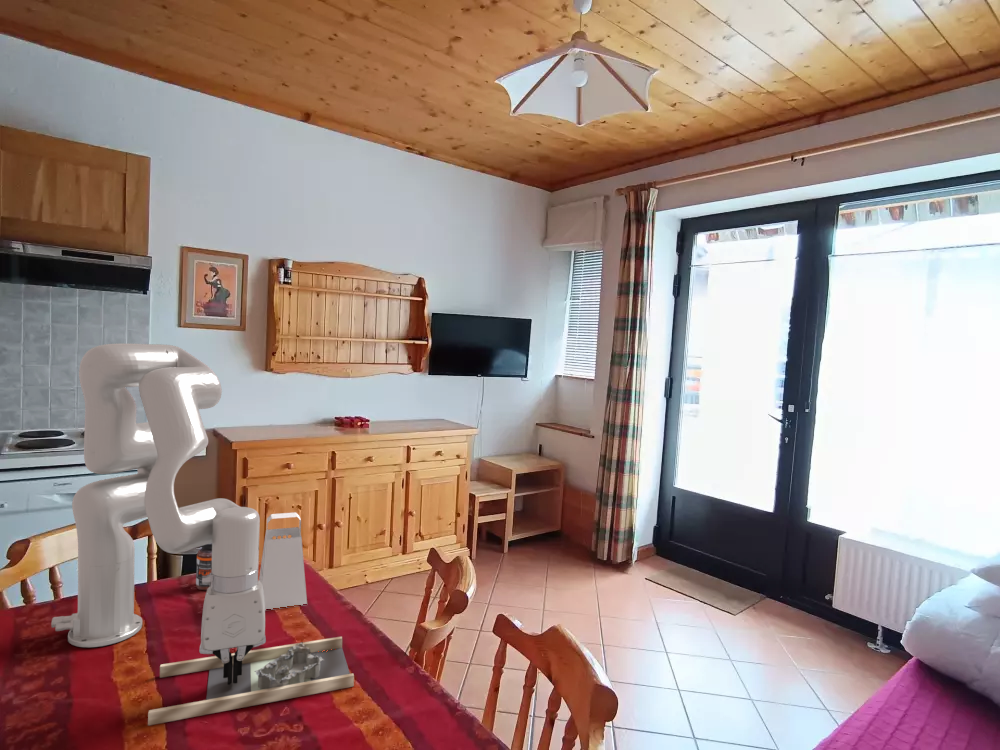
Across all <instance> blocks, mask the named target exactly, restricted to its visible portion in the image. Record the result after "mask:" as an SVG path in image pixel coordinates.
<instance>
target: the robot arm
mask: <svg viewBox="0 0 1000 750" xmlns="http://www.w3.org/2000/svg"><path fill="white" fill-rule="evenodd" d="M78 377H79V383H80V388H81V391H82V395H83V399H84V406H85V407H84V408H85V409H84V410H85V411H84V432H83V434H84V439H83V460H84V464H85V466H86V468H87V470H88V471H89V472H91V473H94V474H98V475H109V474H110V475H111V474H117V473H123V472H128V471H135V470H137V473H135V474H133V473H132V474H128V475H123V476H122V475H121V476H115V477H110V478H105V479H100V480H96V481H93V482H91V483H88V484H85V485H83V486H82V487H80V488H79V489H78V490H77V491H76V493H75V494H74V495H73V497H72V503H71V506H72V507H71V508H72V515H73V519H74V522H75V529H76V535H77V564H78V565H77V612H76V613H71V615H66V616H64V615H61V616H54V617H52V619H51V623H50V624H51V625H50V626H51V628H55V632H60V631H61V632H62V631H65V630H69V631H68V634H67V642H68V643H69V644H71V645H72V646H74V647H78V648H98V647H105V646H110V645H113V644H116V643H119V642H122V641H125V640H127V639H130V638H131V637H132V636H135V635H136V634H137V633H139V631H141V629H142V627H143V618H142V617H141V616H140V615H138V614H136V613H134V612H135V558H136V557H135V550H136V548H135V541H134V539H133V537H131V535H130V534H129V533H128V532H127V531H126V530H125V528H124V527H123V526H124V525H125V524H127V523H131V522H134V521H138V520H142V519H146V518H147V520H148V524H149V528H150V531H151V533H152V536H153V538H154V540H155V541H154V542H156V544H157V546H159V548H160V549H161V550H162V551H164V552H166V553H168V554H180V553H184V552H187V551H190V550H192V549H197V548H199V547H201V546H203V545H206V544H209V543H212V573H210V575H207V576H202V584H209V586H210V587H209V588H208V589H207V590H206V592H205V597H204V601H203V608H202V617H201V631H200V633H201V634H200V645H199V650H198V651H199V652H198V653H200V654H201V655H202V654H203V655H213V656H216V657H218V658H219V659H221V660H222V662H223V663H224V670H223V678H228V685H230V684H231V683H232V657H233V683H234V684H235V683H237V677H238V676H239V675H242V660H243V659H244V656H245V655H246V654H247V653H248V652H249V651H251V650H252V649H253V648H256V647H259V646H261V645H265V644H266V642H267V639H266V610H265V600H264V592H263V587H262V584H261V582H260V581H259V561H260V560H259V556H260V523H261V522H260V514H259V512H258V511H257V510H256V509H254V508H252V507H247V506H240V505H238V503H237V504H236V503H235V502H233V501H232V500H230V499H228V498H221V497H220V498H213V499H209V500H205V501H202V502H201V501H200V502H198V503H194V504H189V505H185V506H180V507H179V506H178V502H177V500H176V496H175V479H176V477H177V474H178V473H179V471H180V469H181V467H183V465H184V464H185V463H186V462H187V461H188V460H190V459H192V458H193V457H195V456H197V455H198V454H200V453H202V452H203V451H204V450H205V449H206V448H207V446H208V444H209V437H208V435H207V432H206V428H205V425H204V422H203V419H202V415H201V412H200V410H206V409H211V408H214V407H215V406H217V404H218V403H219V402H220V400H221V398H222V392H223V391H222V384H221V381H220V379H219V377H218V375H217V374H216V373H215V372H214V370H213V369H212V368H211V367H210V366H208V365H207V364H205V363H204V362H203V361H202V360H200V359H198V358H197V357H195V356H193V355H192V354H190V353H189V352H188V351H186V350H185V349H183V348H181V347H179V346H177V345H171V344H162V343H161V344H157V343H156V344H154V343H153V344H149V343H109V344H108V343H107V344H100V345H97V346H94V347H92V348H90V349H88V350H87V351H85V353H84V354H83V356H82V358H81V360H80V363H79V370H78ZM137 387H138V391H139V396H140V398H141V399H140V400H141V403H142V407H143V410H144V413H145V416H146V419H147V422H138V423H137V404H136V401H135V399H134V398H135V397H133V396H132V394H131V393H130V391H129V390H128V389H127V388H137ZM234 648H236V651H234V653H235V655H234V656H233V655H232V656H231V654H232V652H230V649H234Z"/></svg>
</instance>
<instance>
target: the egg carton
mask: <svg viewBox="0 0 1000 750" xmlns="http://www.w3.org/2000/svg"><path fill="white" fill-rule="evenodd" d="M303 642H304V641H302V642H299V643H300V644H297V643H295V644H296V645H295V646H292V647H291V648H290V649H289V650H288V652H287V653H286V654H283V655H280V657H279V658H277V659H276V660H274V661H271V662H269V663H268V664H267V665H265V666H264V667H263V668H261V669H259V670H256V671H255V672H256V675H258V687H259V688H260V689H265V688H275V687H280V686H286V685H291V684H297V683H302V682H304V680H305V679H307V678H317V677H318V676H319V671H320V661H323V659H322V658H321V657H318V656H317V654H314V656H313V655H311V652H310V649H309V648H308V647H306V646H305V645H304V644H302V643H303Z"/></svg>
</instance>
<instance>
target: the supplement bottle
mask: <svg viewBox="0 0 1000 750" xmlns="http://www.w3.org/2000/svg"><path fill="white" fill-rule="evenodd" d="M200 547H201V548H200V549H199V550H198V551H197V553H196V566H195V567H196V570H195V571H196V572H195V575H196V576H195V587H196V588H197V589H198V590H201V591H207V589H208V588H209V587H210V586H209V584H202V576H207V575H210V573H212V543H209V544H206V545H203V546H200Z"/></svg>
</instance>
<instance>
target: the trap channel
mask: <svg viewBox="0 0 1000 750" xmlns="http://www.w3.org/2000/svg"><path fill="white" fill-rule="evenodd" d="M302 642H303V643H302V644H304V645H305V646H306V647H308V648H309V649H310V652H311V655H313V656H314V654H317V656H318V657H321V658H322V659H323V661H320V671H319V676H318V677H317V678H307V679H305V680H304V682H302V683H297V684H291V685H286V686H280V687H275V688H265V689H260V688H259V687H258V675H256V672H255V671H256V670H259V669H261V668H263V667H264V666H265V665H267V664H268V663H269V662H271V661H274V660H276V659H277V658H279V657H280V655H283V654H286V653H287V652H288V650H289V649H290V648H291V647H292V646H295V645H296V644H300V643H301V642H296V643H291V644H284V645H279V646H278V645H277V646H272V647H265V648H258V649H253V650H252V649H251V650H250V651H249V652H248V653H247V654H246V655H245V656H244V659H243V660H242V675H239V676H238V677H237V683H235V684H234V683H233V657H232V683H231V684H230V685H228V678H223V670H224V663H223V662H222V660H221V659H219V658H218V657H216V656H215V655H213V656H208V657H200V658H194V659H188V660H182V661H176V662H169V663H163V664H160V666H159V678H167V677H172V676H179V675H186V674H190V673H192V674H193V673H198V672H202V671H208V678H207V680H208V681H207V687H206V688H207V689H206V698H205V699H203V700H199V701H193V702H187V703H183V704H177V705H171V706H167V707H166V706H165V707H160V708H154V709H150V710H148V713H147V717H148V718H147V726H153V725H159V724H164V723H168V722H175V721H181V720H184V719H189V718H194V717H200V716H206V715H211V714H215V713H221V712H226V711H231V710H236V709H241V708H248V707H252V706H258V705H263V704H268V703H274V702H279V701H285V700H290V699H294V698H300V697H305V696H311V695H315V694H320V693H321V694H322V693H326V692H333V691H337V690H343V689H348V688H351V687H354V685H355V683H354V682H355V675H354V673H351V672H350V670H349V666H348V663H347V659H346V657H345V653H344V650H343V636H337V637H329V638H323V639H317V640H311V641H310V640H309V641H302ZM331 649H332V650H331ZM335 649H336V650H335ZM323 650H325V651H323ZM327 650H328V651H327ZM318 651H319V652H318ZM322 651H323V652H322ZM326 651H327V652H326ZM232 655H233V656H234V655H235V652H233V653H232V652H231V656H232Z"/></svg>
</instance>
